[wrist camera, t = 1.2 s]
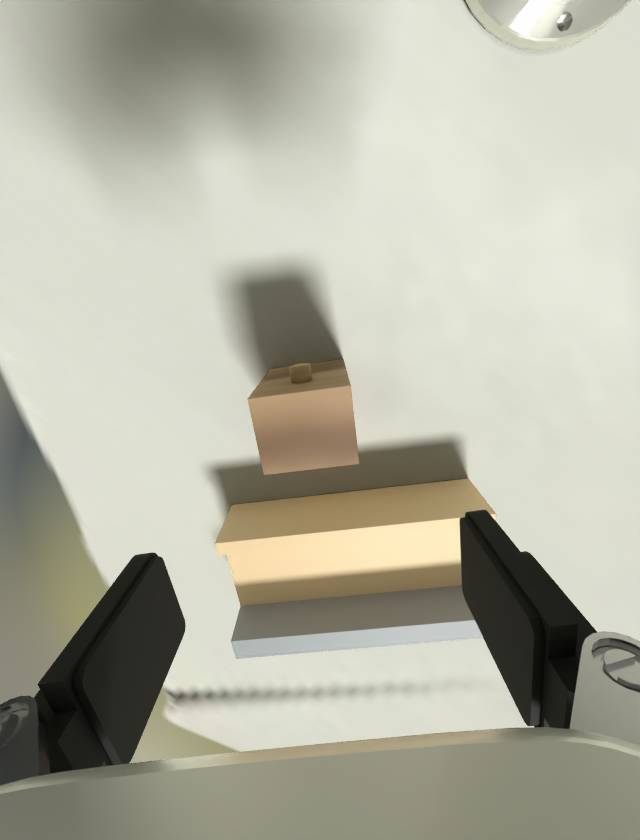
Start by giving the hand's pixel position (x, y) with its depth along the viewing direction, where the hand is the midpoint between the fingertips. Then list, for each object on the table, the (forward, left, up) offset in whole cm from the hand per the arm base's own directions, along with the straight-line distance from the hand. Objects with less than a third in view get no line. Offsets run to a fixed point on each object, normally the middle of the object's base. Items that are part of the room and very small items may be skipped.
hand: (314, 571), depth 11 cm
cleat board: (+14, +1, -20) cm, 25 cm away
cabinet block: (0, -1, -20) cm, 20 cm away
